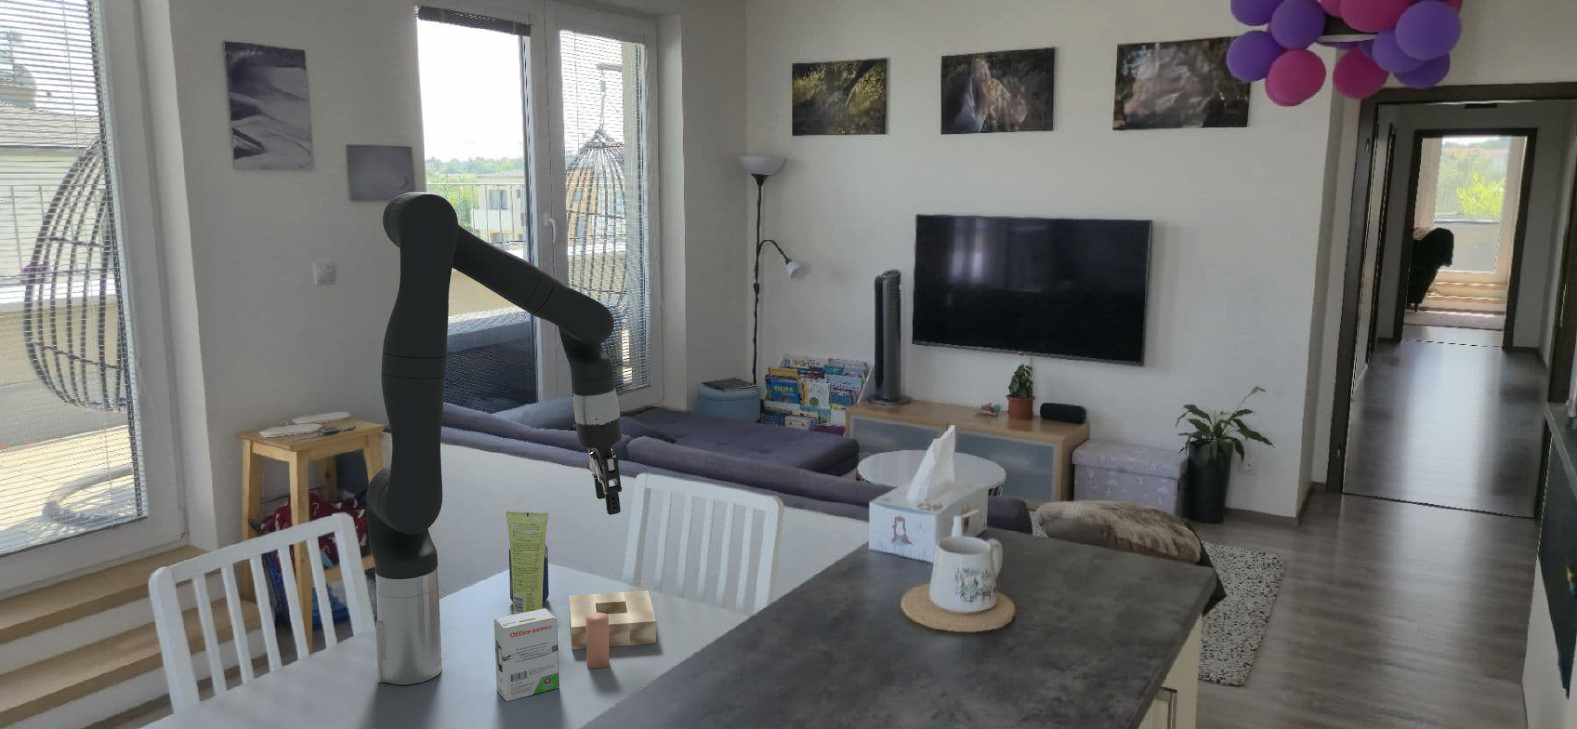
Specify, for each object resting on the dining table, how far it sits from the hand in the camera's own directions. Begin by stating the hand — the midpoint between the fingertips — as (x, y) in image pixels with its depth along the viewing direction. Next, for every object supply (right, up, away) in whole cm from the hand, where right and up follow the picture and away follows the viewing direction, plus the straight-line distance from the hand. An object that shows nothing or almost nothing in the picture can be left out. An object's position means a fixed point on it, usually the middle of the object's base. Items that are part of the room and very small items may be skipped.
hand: (608, 505), depth 192 cm
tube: (-15, -21, +6) cm, 26 cm away
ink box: (-9, -26, -21) cm, 35 cm away
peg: (0, -24, -12) cm, 27 cm away
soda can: (-17, -20, +12) cm, 28 cm away
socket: (0, -22, +1) cm, 22 cm away
